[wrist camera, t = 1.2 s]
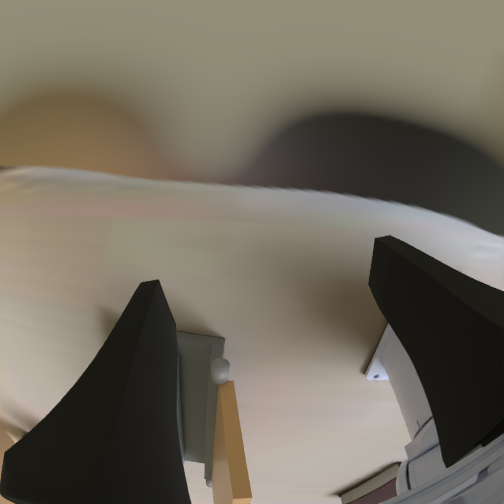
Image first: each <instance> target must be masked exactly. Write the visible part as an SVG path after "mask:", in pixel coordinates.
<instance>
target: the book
mask: <svg viewBox="0 0 504 504" xmlns="http://www.w3.org/2000/svg"><path fill="white" fill-rule="evenodd" d="M401 464H402V462H397V463H396V465H394V466H392V467H391V468H389V469H387V470H386V471H384V472H381V473H379V474H377V475H375V476H374V477H372V478H370V479H368V480H366V481H364V482H362V483H360V484H359V485H357V486H355V487H353V488H351V489H349V490H347V491H345V492H343V493H341V494H340V495H338V496H339V497H341V500H342V504H379V503H381V502H384V501H386V500H389V499H391V498H393V497H396V496H397V491H396V479H397V476H398V471H399V467H400V465H401Z"/></svg>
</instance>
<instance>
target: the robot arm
mask: <svg viewBox="0 0 504 504" xmlns="http://www.w3.org/2000/svg"><path fill="white" fill-rule="evenodd" d="M368 285H369V287H370V289H371V292H372V294H373V296H374V298H375V300H376V302H377V304H378V307H379V308H380V310H381V312H382V313H383V315H384V317H385V318H386V320H387V321H388V324H387V327H386V329H385V332H384V334H383V336H382V339H381V341H380V343H379V345H378V348H377V350H376V352H375V354H374V356H373V359H372V361H371V363H370V365H369V367H368V369H367V371H366V373H365V377H366V379H367V380H390V383H391V385H392V388H393V391H394V393H395V396H396V398H397V401H398V404H399V406H400V409H401V412H402V414H403V417H404V420H405V423H406V426H407V428H408V431H409V434H410V437H411V440H412V441H411V442H410V443H409V444H407V445H406V446H405V450H406V453H407V456H408V459H407V460H405V461H403V462H402V464H401V465H400V467H399V471H398V476H397V479H396V491H397V496H396V497H393V498H391V499H389V500H386V501H384V502H381V503H379V504H504V291H501V290H499V289H496V288H494V287H491V286H489V285H487V284H484V283H482V282H480V281H477V280H475V279H473V278H471V277H469V276H467V275H465V274H463V273H461V272H459V271H457V270H455V269H453V268H451V267H449V266H448V265H446V264H444V263H442V262H440V261H438V260H437V259H435V258H433V257H431V256H429V255H427V254H426V253H424V252H422V251H420V250H418V249H417V248H415V247H413V246H411V245H409V244H407V243H405V242H403V241H401V240H399V239H397V238H395V237H393V236H390V235H389V236H384V237H379V238H375V241H374V249H373V256H372V263H371V270H370V277H369V283H368ZM177 368H178V346H177V334H176V324H175V321H174V318H173V316H172V313H171V311H170V308H169V306H168V303H167V300H166V298H165V295H164V292H163V290H162V287H161V284H160V281H159V279H158V280H152V281H147V282H141V283H140V285H139V286H138V288H137V289H136V291H135V293H134V294H133V296H132V298H131V300H130V301H129V303H128V305H127V306H126V308H125V310H124V312H123V313H122V315H121V317H120V318H119V320H118V322H117V323H116V325H115V327H114V328H113V330H112V332H111V333H110V335H109V337H108V338H107V340H106V341H105V343H104V344H103V346H102V347H101V349H100V350H99V352H98V354H97V355H96V357H95V358H94V359H93V361H92V362H91V364H90V365H89V366H88V368H87V369H86V370H85V372H84V373H83V374H82V376H81V377H80V378H79V380H78V381H77V382H76V383H75V384H74V386H73V387H72V388H71V389H70V390H69V391H68V393H67V394H66V395H65V396H64V397H63V398H62V399H61V401H60V402H59V403H58V404H57V405H56V406H55V407H54V408H53V409H52V410H51V411H50V413H49V414H48V415H47V416H46V417H45V418H44V419H43V420H42V421H40V422H39V423H38V424H37V425H36V426H35V427H34V428H33V429H32V430H31V431H30V432H29V433H28V434H26V435H25V436H24V437H23V438H22V439H20V440H19V441H18V442H17V443H16V444H15V445H13V446H12V447H11V448H10V449H8V450H7V451H6V452H5V453H4V459H3V466H2V473H1V481H0V494H1V496H2V497H4V498H5V499H7V500H9V501H11V502H13V503H15V504H191V500H190V496H189V492H188V487H187V482H186V477H185V472H184V467H183V461H182V454H181V448H180V440H179V432H178V424H177Z"/></svg>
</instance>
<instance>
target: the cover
mask: <svg viewBox="0 0 504 504" xmlns="http://www.w3.org/2000/svg"><path fill="white" fill-rule="evenodd" d="M212 489H213V498H214V504H250V502H251V500H252V493H251V487H250V482H249V476H248V470H247V464H246V458H245V452H244V446H243V440H242V434H241V428H240V421H239V415H238V408H237V402H236V395H235V388H234V381H227V382H226V383H224V384H219V387H218V399H217V411H216V424H215V436H214V450H213V463H212Z"/></svg>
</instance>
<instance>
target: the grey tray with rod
mask: <svg viewBox="0 0 504 504" xmlns="http://www.w3.org/2000/svg"><path fill="white" fill-rule="evenodd" d="M176 334H177V346H178V368H177V424H178V432H179V440H180V448H181V454H182V461H183V464H184V462H185V460H186V461H192V462H199V463H205V477H204V479H206V485H207V486H208V487H212V463H213V450H214V436H215V424H216V411H217V399H218V387H219V384H224V383H226V382H227V381H228V375H229V367H230V364H229V362H228V361H227V360H226V359H224V358H223V352H224V341H225V338H218V337H211V336H204V335H197V334H190V333H184V332H177V331H176Z"/></svg>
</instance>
